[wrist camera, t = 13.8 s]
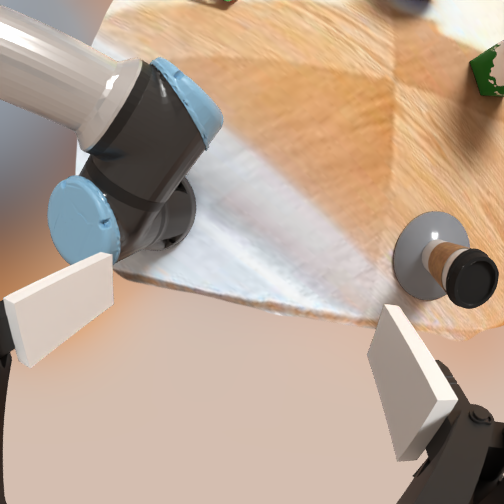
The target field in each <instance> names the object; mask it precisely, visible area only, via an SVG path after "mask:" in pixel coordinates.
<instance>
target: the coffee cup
mask: <svg viewBox="0 0 504 504" xmlns="http://www.w3.org/2000/svg"><path fill="white" fill-rule="evenodd" d="M422 263H423V265H424V267H425V268H426V270H427V271H428V272H429V273H430V274H431V275H432V276H433V278H434V279H435V280H436V281H437V282H438V284H439V285H440V286H441V287H442V289H443V290H444V291H445V292H446V293H447V295H448V297H449V299H450V300H451V301H452V302H453V303H454V304H455V305H457V306H460V307H463V308H467V309H472V308H476V307H478V306H480V305H482V304H484V303H485V302H486V301H487V300H488V299H489V298H490V297H491V296H492V295H493V293H494V291H495V289H496V287H497V283H498V276H499V272H498V269H497V266H496V265H495V263H494V262H493V260H491V259H490V258H489V257H488V255H487V254H485V253H484V252H482V251H481V250H479V249H471V248H468V247H465V246H461V245H458V244H454V243H450V242H446V241H443V240H439V239H436V240H432V241H430V242H429V243H428V244H427V245H426V246H425V248H424V250H423V252H422Z"/></svg>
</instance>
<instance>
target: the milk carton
mask: <svg viewBox="0 0 504 504" xmlns="http://www.w3.org/2000/svg"><path fill="white" fill-rule="evenodd" d="M470 64H471V67H472V70H473V73H474V76H475V79H476V82H477V85H478V88H479V91H480V95H484V96H500V97H504V40H502V41H501V42H499V43H498V44H496V45H494V46H493V47H491V48H490V49H488V50H487V51H485V52H483V53H482V54H480V55H479V56H477V57H476V58H474V59H473V60H471V61H470Z"/></svg>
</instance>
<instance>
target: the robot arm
mask: <svg viewBox="0 0 504 504" xmlns="http://www.w3.org/2000/svg"><path fill="white" fill-rule="evenodd" d="M0 100H3V101H5V102H8V103H10V104H13V105H15V106H17V107H20V108H22V109H24V110H27V111H29V112H32V113H34V114H36V115H39V116H41V117H43V118H46V119H48V120H50V121H52V122H55V123H57V124H59V125H62V126H64V127H66V128H68V129H71V130H73V131H74V132H75V133H76V135H77V139H78V142H79V145H80V148H81V150H83V151H84V152H87V153H89V154H90V156H89V158H88V160H87V162H86V163H85V165H84V167H83V169H82V171H81V173H80V174H79V176H70V177H68V178H67V179H66V180H63V181H61V182H60V183H59V184H58V185H57V186H56V187H55V189H54V190H53V192H52V195H51V197H50V200H49V204H48V225H49V229H50V232H51V237H52V240H53V243H54V245H55V247H56V249H57V250H58V252H59V253H60V255H61V256H62V257H63V258H64V259H65V261H66V262H67V263H69V264H70V266H68V267H66V268H64V269H62V270H59V271H57V272H55V273H53V274H51V275H49V276H47V277H45V278H42V279H41V280H38V281H36V282H34V283H32V284H30V285H28V286H26V287H24V288H22V289H20V290H17V291H16V292H14V293H11V294H10V295H8V296H6V297H4V298H3V300H2V301H0V504H7V503H6V501H5V497H4V484H3V427H4V426H3V425H4V412H5V402H6V394H7V387H8V380H9V373H10V367H11V361H12V357H11V354H10V351H12V350H13V349H15V350H16V354H17V357H18V360H19V361H20V362H21V363H23V364H24V365H26V366H27V367H29V368H31V367H33V366H34V365H35V364H36V363H37V362H39V361H40V360H41V359H42V358H44V357H45V356H46V355H48V354H49V353H50V352H51V351H53V350H54V349H55V348H57V347H58V346H59V345H60V344H61V343H63V342H64V341H66V340H67V339H68V338H69V337H71V336H72V335H73V334H75V333H76V332H77V331H79V330H80V329H81V328H82V327H84V326H85V325H87V324H88V323H89V322H90V321H92V320H93V319H94V318H96V317H97V316H99V315H100V314H101V313H103V312H104V311H105V310H107V309H108V308H109V307H110V306H112V305H113V304H114V298H113V265H114V264H115V263H116V262H118V261H120V260H122V259H124V258H126V257H128V256H130V255H132V254H134V253H136V252H138V251H140V250H142V249H145V250H152V251H158V250H164V249H167V248H170V247H172V246H173V245H175V244H177V243H179V242H180V241H181V240H182V239H183V238H185V236H186V235H187V234H188V233H189V231H190V229H191V227H192V225H193V223H194V219H195V214H196V201H195V196H194V192H193V190H192V187H191V185H190V184H189V182H188V180H187V179H186V178H185V175H186V174H187V173H188V171H189V170H190V169H191V167H192V166H193V165H194V163H195V162H196V161H197V159H198V158H199V157H200V155H201V154H202V153H203V151H204V150H207V149H208V148H209V144H210V142H211V141H212V140H213V138H214V137H215V135H216V134H217V133H218V131H219V130H220V129H221V127H222V125H223V115H222V112H221V110H220V109H219V107H218V106H217V105H216V104H215V102H214V101H213V100H212V99H211V98H210V97H209V96H208V95H207V94H206V93H205V92H204V91H203V90H202V89H201V88H200V87H199V86H198V85H197V84H196V83H195V82H194V81H193V80H191V79H190V78H189V77H188V76H186V75H184V74H183V72H181V71H180V70H179V69H178V68H177V67H176V66H175V65H173V64H172V63H170V62H169V61H167V60H166V59H164V58H161V57H158V58H156V59H155V60H152V61H151V63H150V65H149V64H148V63H146V62H144V61H143V60H141V59H140V58H133V59H128V60H124V61H115V60H113V59H112V58H110V57H108V56H106V55H105V54H103V53H101V52H99V51H97V50H96V49H94V48H92V47H90V46H88V45H86V44H84V43H82V42H81V41H79V40H77V39H75V38H73V37H71V36H69V35H67V34H65V33H63V32H61V31H59V30H57V29H55V28H53V27H50V26H48V25H46V24H44V23H42V22H40V21H38V20H35V19H33V18H31V17H29V16H26V15H24V14H22V13H19V12H17V11H14V10H12V9H9V8H7V7H5V6H2V5H0ZM367 356H368V360H369V363H370V366H371V369H372V372H373V375H374V379H375V382H376V385H377V388H378V392H379V395H380V399H381V402H382V406H383V409H384V412H385V416H386V420H387V424H388V427H389V431H390V435H391V439H392V443H393V447H394V451H395V455H396V459H397V461H411V460H417V459H418V458H419V456H420V455H421V454H422V453H423V451H424V450H425V449H426V451H427V454H428V458H427V459H426V461H425V462H424V463H423V464H422V466H421V467H420V468H419V469H418V471H417V472H416V473H415V474H414V475H413V477H414V479H413V481H412V482H411V484H410V485H409V487H408V488H407V490H406V491H405V492H404V494H403V495H402V497H401V498H400V499H399V501H398V502H397V504H504V476H503V473H504V423H501V422H495V421H494V418H493V416H492V414H491V413H489V411H488V410H487V409H485V408H483V407H482V406H479V405H476V404H475V405H474V404H470V403H469V401H468V399H467V398H466V396H465V394H464V393H463V391H462V389H461V388H460V386H459V385H458V384H457V381H456V380H455V379H454V377H453V375H452V373H451V372H450V370H449V369H448V367H446V366H445V365H444V364H443V363H442V362H440V361H439V360H434V358H433V357H432V355H431V354H430V352H429V350H428V349H427V347H426V346H425V344H424V342H423V341H422V340H421V338H420V336H419V335H418V333H417V332H416V330H415V329H414V327H413V326H412V324H411V323H410V321H409V320H408V319H407V317H406V316H405V314H404V313H403V311H402V310H401V308H400V307H399V306H396V305H389V304H384V306H383V309H382V312H381V315H380V318H379V322H378V325H377V328H376V331H375V334H374V337H373V339H372V342H371V345H370V348H369V351H368V353H367Z"/></svg>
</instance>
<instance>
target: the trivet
mask: <svg viewBox="0 0 504 504" xmlns="http://www.w3.org/2000/svg"><path fill="white" fill-rule="evenodd" d="M436 239H439V240H443V241H446V242H450V243H454V244H458V245H461V246H465V247H468V248H470V244H469V239H468V235H467V233H466V231H465V229H464V227H463V226H462V224H461V223H460V222H459V221H458V220H457V219H456V218H455V217H453V216H451V215H450V214H447V213H444V212H439V211H432V212H427V213H423V214H421V215H419V216H417V217H416V218H414V219H413V220H412V221H411V222H410V223H409V224H408V225H407V226H406V227H405V228H404V230H403V231H402V233H401V234H400V236H399V238H398V241H397V243H396V247H395V251H394V269H395V274H396V277H397V279H398V281H399V283H400V285H401V286H402V287H403V288H404V290H405V291H406V292H408V293H409V294H410V295H412V296H413V297H416V298H418V299H422V300H433V299H437V298H440V297H442V296H444V295H446V294H447V293H446V292H445V291H444V290H443V289H442V287H441V286H440V285H439V284H438V282H437V281H436V280H435V279H434V278H433V276H432V275H431V274H430V273H429V272H428V271H427V270H426V268H425V267H424V265H423V263H422V252H423V250H424V248H425V246H426V245H427V244H428V243H429V242H430V241H432V240H436Z"/></svg>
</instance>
